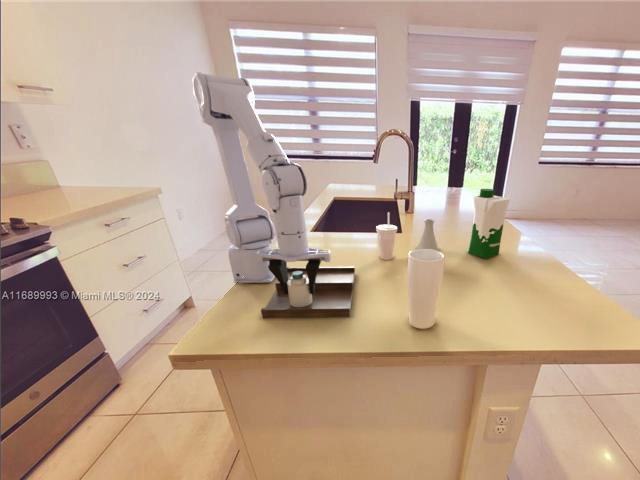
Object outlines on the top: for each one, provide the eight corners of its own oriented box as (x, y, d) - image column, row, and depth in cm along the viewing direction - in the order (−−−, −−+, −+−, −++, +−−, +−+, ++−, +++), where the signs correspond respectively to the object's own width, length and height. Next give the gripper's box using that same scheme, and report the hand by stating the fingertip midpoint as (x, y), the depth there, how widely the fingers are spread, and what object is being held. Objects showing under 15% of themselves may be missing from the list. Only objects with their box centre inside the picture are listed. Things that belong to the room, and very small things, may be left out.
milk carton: (480, 247, 109) (489, 187, 99) (503, 255, 102) (514, 191, 93) (464, 252, 104) (471, 189, 94) (486, 260, 97) (497, 194, 88)
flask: (441, 249, 106) (444, 219, 102) (432, 255, 101) (434, 224, 96) (423, 245, 110) (424, 216, 105) (412, 250, 104) (414, 220, 99)
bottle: (287, 307, 67) (282, 277, 64) (292, 297, 71) (288, 268, 68) (310, 307, 68) (306, 277, 64) (314, 296, 72) (310, 268, 69)
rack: (262, 318, 65) (260, 306, 64) (287, 276, 84) (285, 267, 82) (349, 316, 66) (349, 305, 65) (355, 276, 85) (354, 266, 84)
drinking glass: (428, 336, 61) (434, 264, 54) (399, 325, 64) (401, 255, 57) (443, 320, 66) (450, 253, 59) (415, 311, 69) (419, 246, 62)
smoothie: (394, 262, 95) (395, 215, 88) (373, 260, 96) (373, 214, 89) (398, 255, 100) (399, 210, 94) (379, 253, 101) (379, 209, 95)
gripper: (246, 236, 58) (259, 301, 64) (325, 236, 59) (331, 299, 65) (258, 226, 64) (269, 286, 71) (330, 226, 65) (335, 285, 72)
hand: (299, 291), depth 68 cm, fingers closed on bottle, 5 cm apart
